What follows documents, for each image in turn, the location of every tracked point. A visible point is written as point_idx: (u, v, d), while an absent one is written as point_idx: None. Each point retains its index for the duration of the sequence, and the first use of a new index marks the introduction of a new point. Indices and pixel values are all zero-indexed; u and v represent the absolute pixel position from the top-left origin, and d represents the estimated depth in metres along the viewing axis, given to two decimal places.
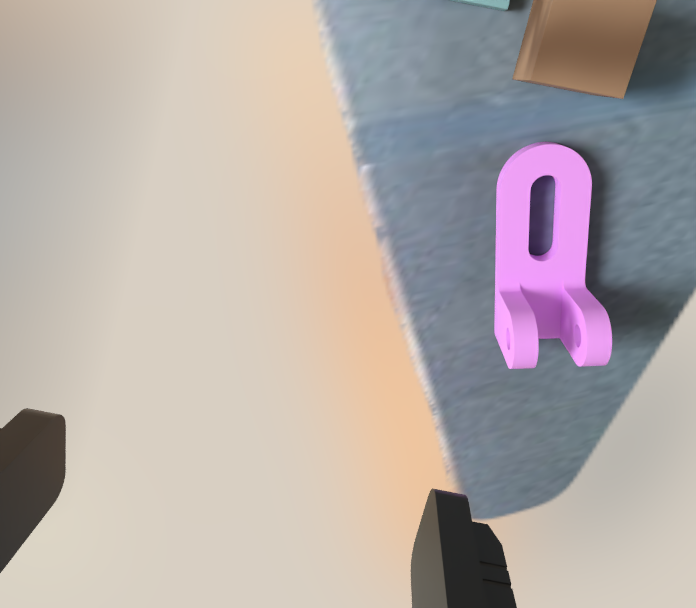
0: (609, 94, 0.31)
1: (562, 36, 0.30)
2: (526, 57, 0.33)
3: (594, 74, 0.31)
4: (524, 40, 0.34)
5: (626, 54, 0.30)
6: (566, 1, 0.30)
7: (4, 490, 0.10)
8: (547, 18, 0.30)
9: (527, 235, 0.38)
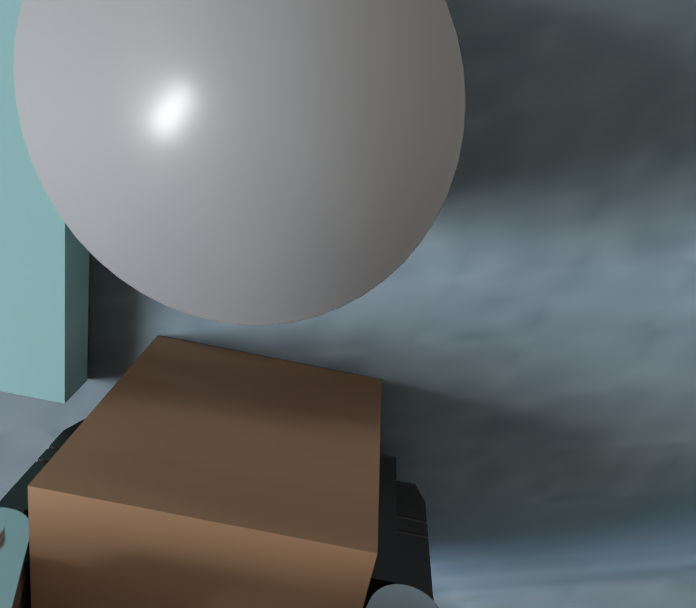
0: None
1: None
2: None
3: None
4: None
5: None
6: (74, 552, 0.09)
7: None
8: None
9: None
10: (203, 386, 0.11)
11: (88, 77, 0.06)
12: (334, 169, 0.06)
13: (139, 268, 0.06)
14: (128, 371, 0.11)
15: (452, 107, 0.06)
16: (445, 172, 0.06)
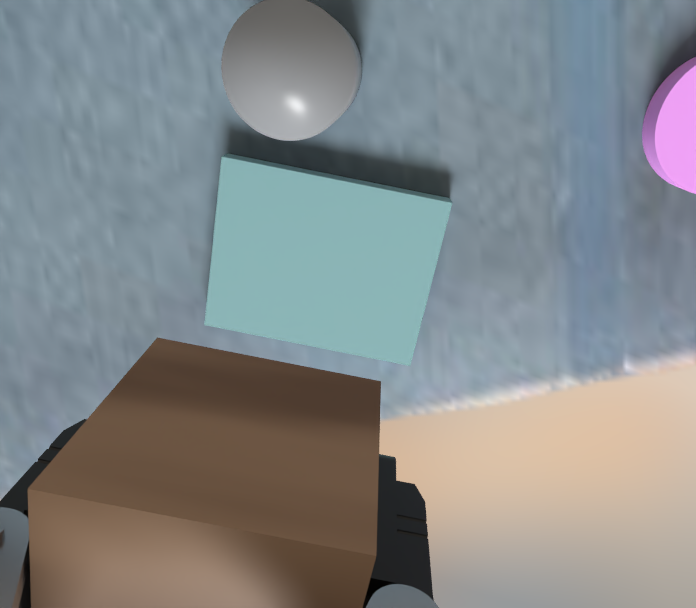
0: None
1: None
2: None
3: None
4: None
5: None
6: (74, 555, 0.09)
7: None
8: None
9: None
10: (202, 388, 0.11)
11: (278, 116, 0.20)
12: (300, 40, 0.19)
13: (335, 109, 0.20)
14: (128, 373, 0.11)
15: (281, 1, 0.19)
16: (300, 2, 0.19)
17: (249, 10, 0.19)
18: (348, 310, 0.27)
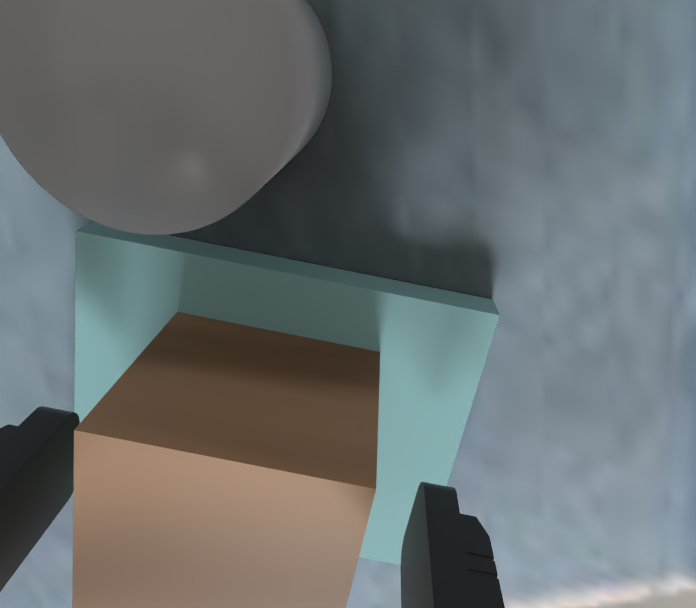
0: None
1: (127, 564, 0.11)
2: None
3: None
4: None
5: None
6: (113, 490, 0.10)
7: (22, 486, 0.11)
8: None
9: None
10: (220, 354, 0.13)
11: (123, 182, 0.09)
12: None
13: (254, 166, 0.08)
14: (153, 341, 0.13)
15: None
16: None
17: None
18: None
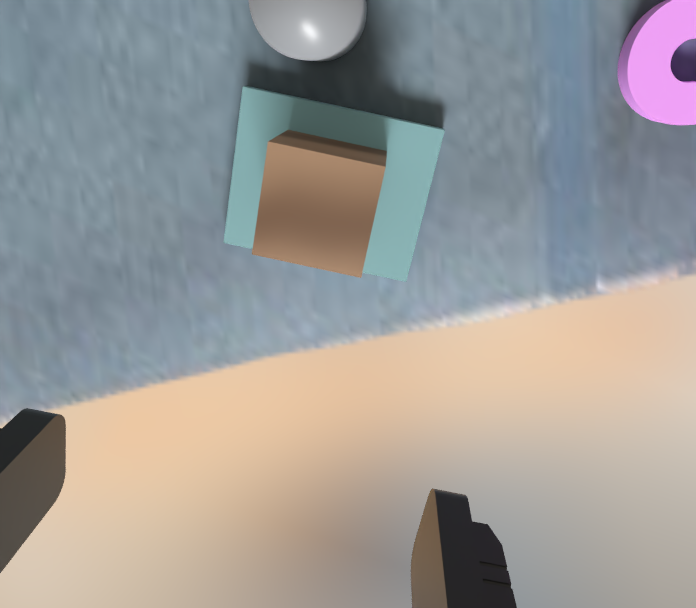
0: (344, 272, 0.26)
1: (281, 209, 0.25)
2: None
3: (324, 250, 0.26)
4: None
5: (357, 230, 0.26)
6: (279, 170, 0.25)
7: (5, 489, 0.10)
8: (262, 187, 0.25)
9: None
10: (313, 139, 0.27)
11: (295, 38, 0.23)
12: None
13: (344, 32, 0.23)
14: (282, 134, 0.28)
15: None
16: None
17: None
18: None
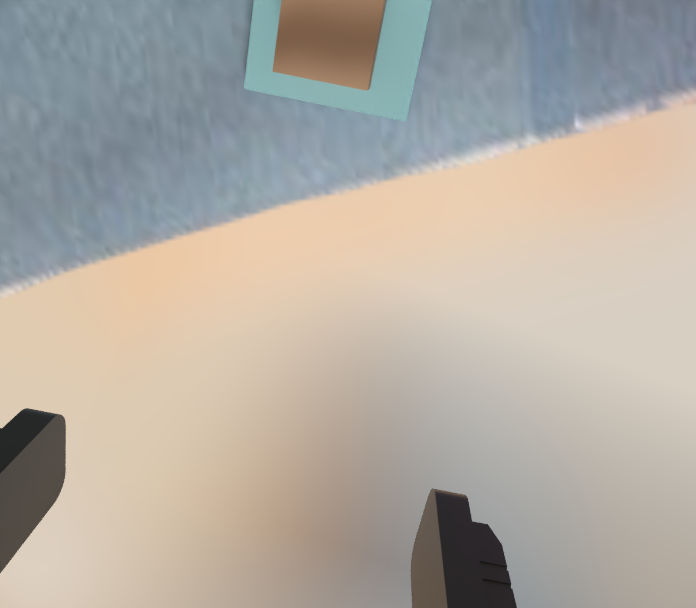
0: (352, 86, 0.30)
1: (297, 27, 0.29)
2: None
3: (335, 65, 0.30)
4: None
5: (364, 45, 0.30)
6: None
7: (4, 490, 0.10)
8: (281, 7, 0.29)
9: None
10: None
11: None
12: None
13: None
14: None
15: None
16: None
17: None
18: None
